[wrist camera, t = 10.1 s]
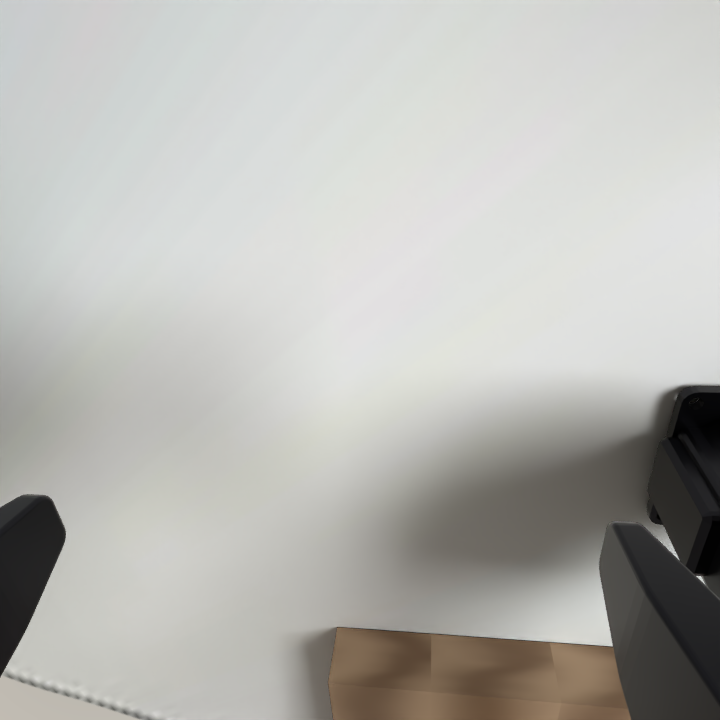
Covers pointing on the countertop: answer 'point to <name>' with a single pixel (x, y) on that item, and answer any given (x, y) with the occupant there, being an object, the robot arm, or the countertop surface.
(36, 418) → the countertop surface
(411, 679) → the board
